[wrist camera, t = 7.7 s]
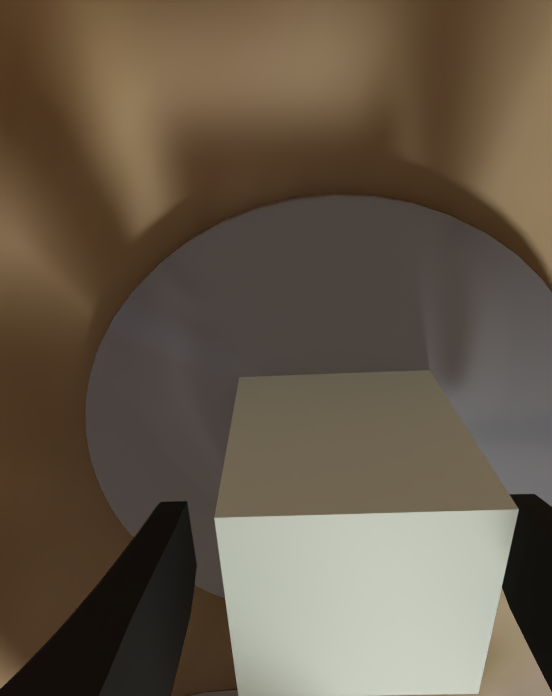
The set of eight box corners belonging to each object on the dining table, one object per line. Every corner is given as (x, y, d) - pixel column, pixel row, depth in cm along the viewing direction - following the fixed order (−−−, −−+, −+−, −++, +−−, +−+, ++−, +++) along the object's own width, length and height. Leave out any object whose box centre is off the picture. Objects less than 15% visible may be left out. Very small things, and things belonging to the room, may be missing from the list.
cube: (252, 519, 14) (238, 697, 10) (239, 377, 12) (214, 518, 8) (414, 515, 14) (478, 693, 10) (429, 369, 12) (519, 509, 8)
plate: (137, 599, 17) (130, 619, 16) (44, 204, 11) (27, 208, 11) (522, 593, 17) (533, 614, 16) (629, 181, 11) (654, 184, 10)
